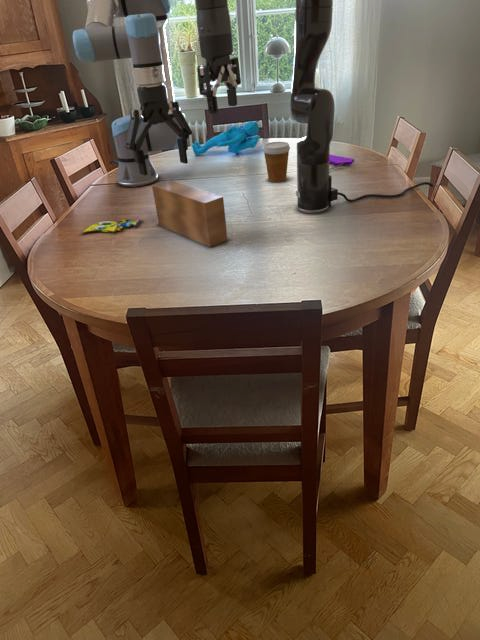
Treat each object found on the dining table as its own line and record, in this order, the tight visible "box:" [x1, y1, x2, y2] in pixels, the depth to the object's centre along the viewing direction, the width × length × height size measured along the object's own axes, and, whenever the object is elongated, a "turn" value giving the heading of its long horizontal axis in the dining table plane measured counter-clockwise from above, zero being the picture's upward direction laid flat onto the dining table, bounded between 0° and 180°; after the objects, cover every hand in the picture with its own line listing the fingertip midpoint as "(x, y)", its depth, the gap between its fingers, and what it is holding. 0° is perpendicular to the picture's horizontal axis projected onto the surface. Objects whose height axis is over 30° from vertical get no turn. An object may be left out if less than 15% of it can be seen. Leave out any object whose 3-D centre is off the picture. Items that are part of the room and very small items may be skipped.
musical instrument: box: [329, 154, 355, 171], centre depth 185 cm, size 24×2×20 cm
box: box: [151, 179, 228, 248], centre depth 134 cm, size 25×6×12 cm, turn 41°
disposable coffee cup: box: [262, 141, 291, 183], centre depth 169 cm, size 10×10×12 cm
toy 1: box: [82, 218, 141, 235], centre depth 145 cm, size 10×1×15 cm
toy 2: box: [191, 120, 261, 156], centre depth 207 cm, size 17×11×30 cm
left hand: (164, 168), depth 135 cm, fingers open, 13 cm apart
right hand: (223, 109), depth 116 cm, fingers open, 8 cm apart
